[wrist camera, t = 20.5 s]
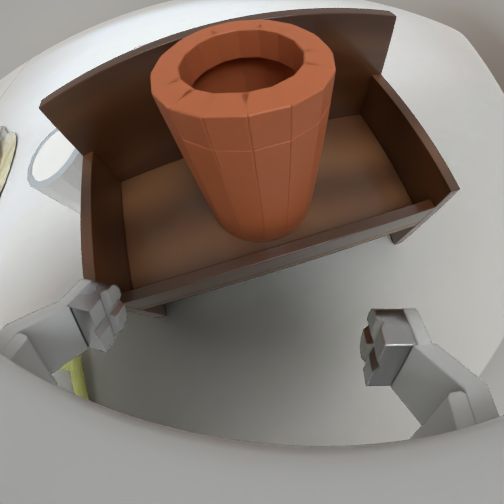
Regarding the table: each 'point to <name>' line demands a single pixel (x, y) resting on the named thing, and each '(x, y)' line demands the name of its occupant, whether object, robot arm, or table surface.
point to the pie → (6, 153)
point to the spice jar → (249, 120)
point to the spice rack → (190, 196)
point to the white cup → (57, 170)
